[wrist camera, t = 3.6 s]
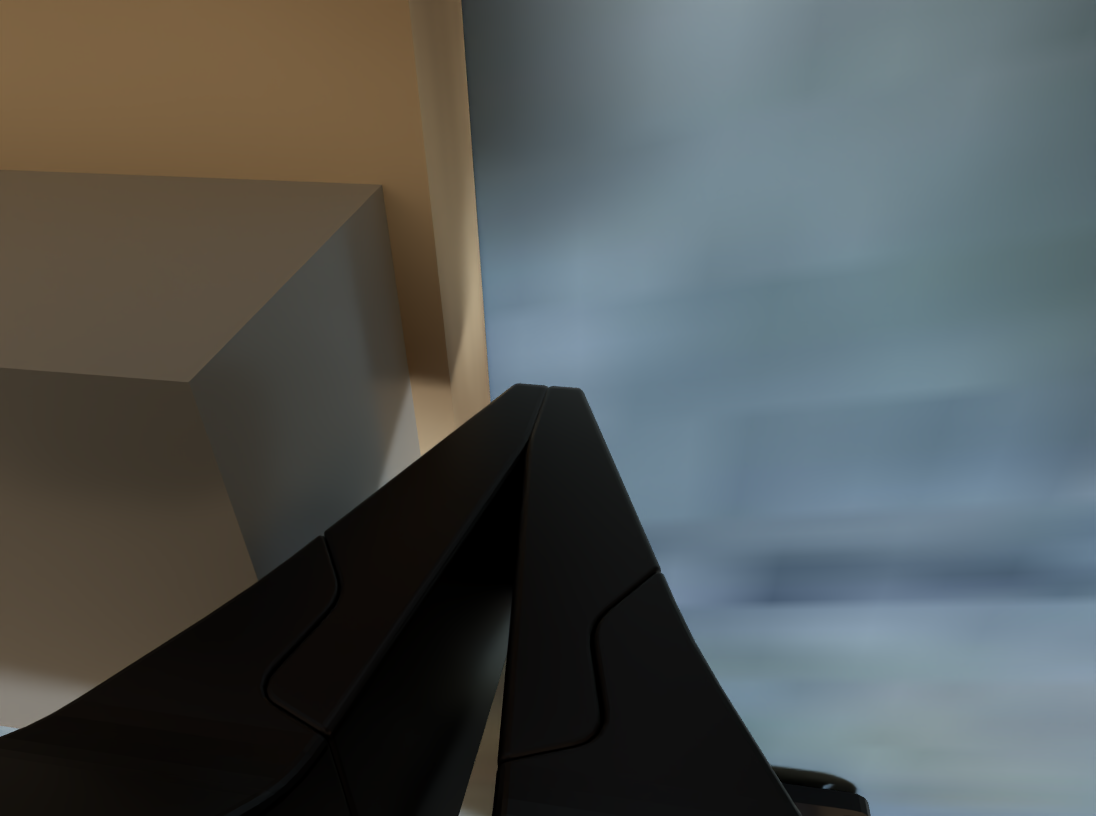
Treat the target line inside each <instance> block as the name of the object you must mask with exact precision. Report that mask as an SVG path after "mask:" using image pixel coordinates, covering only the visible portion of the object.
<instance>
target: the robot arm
mask: <svg viewBox="0 0 1096 816" xmlns="http://www.w3.org/2000/svg"><path fill="white" fill-rule="evenodd" d="M506 655H507V660H506V671H505V682H504V694H503V705H502V716H501V728H500V739H499V750H498V770H497V773H496V784H495V794H494V803H493V811H492V816H871V815H870V810H869V805H868V802H867V800H866V799H865V798H864V797H862V796H860V795H858V794H854V793H850V792H842V791H835V790H828V789H820V788H813V787H806V786H798V785H791V784H783V783H781V782H780V780H779V779H778V777H777V775H776V774H775V772H774V770H773V769H772V767H771V766H770V764H769V762H768V761H767V759H766V758H765V756H764V754H763V753H762V751H761V750H760V748H759V746H758V745H757V743H756V742H755V740H754V738H753V737H752V735H751V734H750V732H749V730H748V729H747V727H746V726H745V724H744V722H743V721H742V719H741V718H740V716H739V714H738V713H737V711H736V710H735V708H734V706H733V705H732V703H731V702H730V700H729V698H728V697H727V695H726V694H725V692H724V690H723V689H722V687H721V686H720V684H719V682H718V680H717V679H716V677H715V675H714V674H713V672H712V670H711V668H710V667H709V665H708V663H707V661H706V660H705V658H704V656H703V655H702V653H701V651H700V649H699V648H698V646H697V644H696V643H695V641H694V639H693V637H692V635H691V633H690V630H689V628H688V626H687V624H686V622H685V620H684V618H683V616H682V614H681V612H680V610H679V608H678V606H677V604H676V602H675V599H674V597H673V595H672V593H671V590H670V588H669V586H668V583H667V581H666V579H665V577H664V575H663V574H662V573H661V569H660V566H659V564H658V562H657V559H656V557H655V555H654V552H653V550H652V548H651V545H650V543H649V541H648V539H647V536H646V534H645V532H644V529H643V527H642V525H641V523H640V520H639V518H638V516H637V513H636V511H635V509H634V507H633V504H632V502H631V500H630V497H629V495H628V493H627V491H626V488H625V486H624V484H623V481H622V479H621V477H620V475H619V472H618V470H617V468H616V465H615V463H614V461H613V458H612V456H611V454H610V452H609V449H608V447H607V445H606V442H605V440H604V438H603V436H602V433H601V431H600V429H599V426H598V424H597V422H596V420H595V417H594V415H593V413H592V410H591V408H590V406H589V404H588V401H587V399H586V397H585V394H584V392H583V391H582V390H581V389H580V388H572V387H558V386H551V387H549V388H548V387H547V386H544V385H533V384H521V383H518V384H515V385H513V386H511V387H510V388H509V389H508V390H506V391H505V392H504V393H502V394H501V395H500V396H499V397H497V398H496V399H495V400H493V401H492V402H491V403H489V404H488V405H487V406H486V407H484V408H483V409H482V410H480V411H479V412H478V413H477V414H475V415H474V416H473V417H471V418H470V419H469V420H468V421H466V422H465V423H464V424H462V425H461V426H460V427H458V428H457V429H456V430H455V431H453V432H452V433H451V434H449V435H448V436H447V437H446V438H444V439H443V440H442V441H440V442H439V443H438V444H436V445H435V446H434V447H433V448H431V449H430V450H429V451H427V452H426V453H425V454H424V455H422V456H421V457H420V458H418V459H417V460H416V461H415V462H413V463H412V464H411V465H409V466H408V467H407V468H405V469H404V470H403V471H402V472H400V473H399V474H398V475H396V476H395V477H394V478H393V479H391V480H390V481H389V482H387V483H386V484H385V485H383V486H382V487H381V488H380V489H378V490H377V491H376V492H374V493H373V494H372V495H371V496H369V497H368V498H367V499H365V500H364V501H363V502H362V503H360V504H359V505H358V506H356V507H355V508H354V509H352V510H351V511H350V512H349V513H347V514H346V515H345V516H343V517H342V518H341V519H340V520H338V521H337V522H336V523H334V524H333V525H332V526H330V527H329V528H328V529H327V530H325V532H324V536H322V535H319V536H317V537H316V538H315V539H313V540H312V541H311V542H309V543H308V544H307V545H306V546H304V547H303V548H302V549H300V550H299V551H298V552H296V553H295V554H294V555H293V556H291V557H290V558H288V559H287V560H286V561H284V562H283V563H282V564H280V565H279V566H278V567H276V568H275V569H273V570H272V571H271V572H269V573H268V574H267V575H265V576H264V577H263V578H261V579H260V580H258V581H257V582H256V583H254V584H253V585H252V586H250V587H249V588H247V589H246V590H244V591H243V592H241V593H240V594H238V595H237V596H235V597H234V598H232V599H231V600H229V601H228V602H226V603H225V604H223V605H222V606H220V607H219V608H217V609H216V610H214V611H213V612H211V613H210V614H208V615H207V616H205V617H204V618H202V619H201V620H199V621H198V622H196V623H194V624H193V625H191V626H190V627H188V628H187V629H185V630H184V631H182V632H180V633H179V634H177V635H176V636H174V637H173V638H171V639H169V640H168V641H166V642H165V643H163V644H162V645H160V646H158V647H157V648H155V649H154V650H152V651H151V652H149V653H147V654H146V655H144V656H143V657H141V658H140V659H138V660H137V661H135V662H133V663H132V664H130V665H129V666H127V667H126V668H124V669H122V670H121V671H119V672H118V673H116V674H115V675H113V676H111V677H110V678H108V679H107V680H105V681H104V682H102V683H100V684H99V685H97V686H96V687H94V688H93V689H91V690H90V691H88V692H86V693H85V694H83V695H82V696H80V697H79V698H77V699H75V700H74V701H72V702H70V703H69V704H67V705H65V706H64V707H62V708H60V709H58V710H57V711H55V712H53V713H52V714H50V715H48V716H46V717H44V718H42V719H40V720H38V721H36V722H34V723H32V724H30V725H28V726H26V727H23V728H21V729H19V730H16V731H14V732H11V733H9V734H6V735H4V736H1V737H0V816H458V815H459V812H460V809H461V805H462V802H463V799H464V795H465V792H466V789H467V785H468V782H469V779H470V775H471V772H472V769H473V765H474V762H475V759H476V755H477V752H478V749H479V745H480V742H481V739H482V735H483V732H484V729H485V725H486V722H487V719H488V715H489V712H490V709H491V705H492V702H493V699H494V695H495V692H496V689H497V685H498V682H499V679H500V675H501V672H502V669H503V665H504V662H505V659H506Z"/></svg>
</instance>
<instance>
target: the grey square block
mask: <svg viewBox="0 0 1096 816" xmlns="http://www.w3.org/2000/svg"><path fill="white" fill-rule="evenodd" d="M420 457H421V453H420V446H419V439H418V432H417V425H416V418H415V411H414V404H413V397H412V390H411V383H410V376H409V369H408V362H407V356H406V349H405V342H404V335H403V328H402V321H401V314H400V307H399V300H398V293H397V286H396V279H395V272H394V265H393V258H392V251H391V244H390V237H389V230H388V223H387V216H386V209H385V202H384V195H383V188H382V185H378V184H353V183H327V182H302V181H276V180H251V179H225V178H199V177H174V176H148V175H123V174H97V173H72V172H46V171H21V170H0V726H6V727H13V728H20V729H21V728H23V727H26V726H28V725H30V724H32V723H34V722H36V721H38V720H40V719H42V718H44V717H46V716H48V715H50V714H52V713H53V712H55V711H57V710H58V709H60V708H62V707H64V706H65V705H67V704H69V703H70V702H72V701H74V700H75V699H77V698H79V697H80V696H82V695H83V694H85V693H86V692H88V691H90V690H91V689H93V688H94V687H96V686H97V685H99V684H100V683H102V682H104V681H105V680H107V679H108V678H110V677H111V676H113V675H115V674H116V673H118V672H119V671H121V670H122V669H124V668H126V667H127V666H129V665H130V664H132V663H133V662H135V661H137V660H138V659H140V658H141V657H143V656H144V655H146V654H147V653H149V652H151V651H152V650H154V649H155V648H157V647H158V646H160V645H162V644H163V643H165V642H166V641H168V640H169V639H171V638H173V637H174V636H176V635H177V634H179V633H180V632H182V631H184V630H185V629H187V628H188V627H190V626H191V625H193V624H194V623H196V622H198V621H199V620H201V619H202V618H204V617H205V616H207V615H208V614H210V613H211V612H213V611H214V610H216V609H217V608H219V607H220V606H222V605H223V604H225V603H226V602H228V601H229V600H231V599H232V598H234V597H235V596H237V595H238V594H240V593H241V592H243V591H244V590H246V589H247V588H249V587H250V586H252V585H253V584H254V583H256V582H257V581H258V580H260V579H261V578H263V577H264V576H265V575H267V574H268V573H269V572H271V571H272V570H273V569H275V568H276V567H278V566H279V565H280V564H282V563H283V562H284V561H286V560H287V559H288V558H290V557H291V556H293V555H294V554H295V553H296V552H298V551H299V550H300V549H302V548H303V547H304V546H306V545H307V544H308V543H309V542H311V541H312V540H313V539H315V538H316V537H317V536H319V535H322V536H324V532H325V530H327V529H328V528H329V527H330V526H332V525H333V524H334V523H336V522H337V521H338V520H340V519H341V518H342V517H343V516H345V515H346V514H347V513H349V512H350V511H351V510H352V509H354V508H355V507H356V506H358V505H359V504H360V503H362V502H363V501H364V500H365V499H367V498H368V497H369V496H371V495H372V494H373V493H374V492H376V491H377V490H378V489H380V488H381V487H382V486H383V485H385V484H386V483H387V482H389V481H390V480H391V479H393V478H394V477H395V476H396V475H398V474H399V473H400V472H402V471H403V470H404V469H405V468H407V467H408V466H409V465H411V464H412V463H413V462H415V461H416V460H417V459H418V458H420Z"/></svg>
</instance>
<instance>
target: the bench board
mask: <svg viewBox="0 0 1096 816" xmlns="http://www.w3.org/2000/svg"><path fill="white" fill-rule="evenodd" d="M0 170H21V171H46V172H72V173H97V174H123V175H148V176H174V177H199V178H225V179H251V180H276V181H302V182H327V183H353V184H378V185H382V188H383V195H384V202H385V209H386V216H387V223H388V230H389V237H390V244H391V251H392V258H393V265H394V272H395V279H396V286H397V293H398V300H399V307H400V314H401V321H402V328H403V335H404V342H405V349H406V356H407V362H408V369H409V376H410V383H411V390H412V397H413V404H414V411H415V418H416V425H417V432H418V439H419V446H420V453H421V456H422V455H424V454H425V453H426V452H427V451H429V450H430V449H431V448H433V447H434V446H435V445H436V444H438V443H439V442H440V441H442V440H443V439H444V438H446V437H447V436H448V435H449V434H451V433H452V432H453V431H455V430H456V429H457V428H458V427H460V426H461V425H462V424H464V423H465V422H466V421H468V420H469V419H470V418H471V417H473V416H474V415H475V414H477V413H478V412H479V411H480V410H482V409H483V408H484V407H486V406H487V405H488V404H489V403H490V389H489V376H488V362H487V348H486V334H485V321H484V307H483V293H482V279H481V266H480V252H479V238H478V224H477V211H476V197H475V183H474V170H473V156H472V142H471V128H470V115H469V101H468V87H467V73H466V60H465V46H464V32H463V18H462V5H461V0H0Z"/></svg>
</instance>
